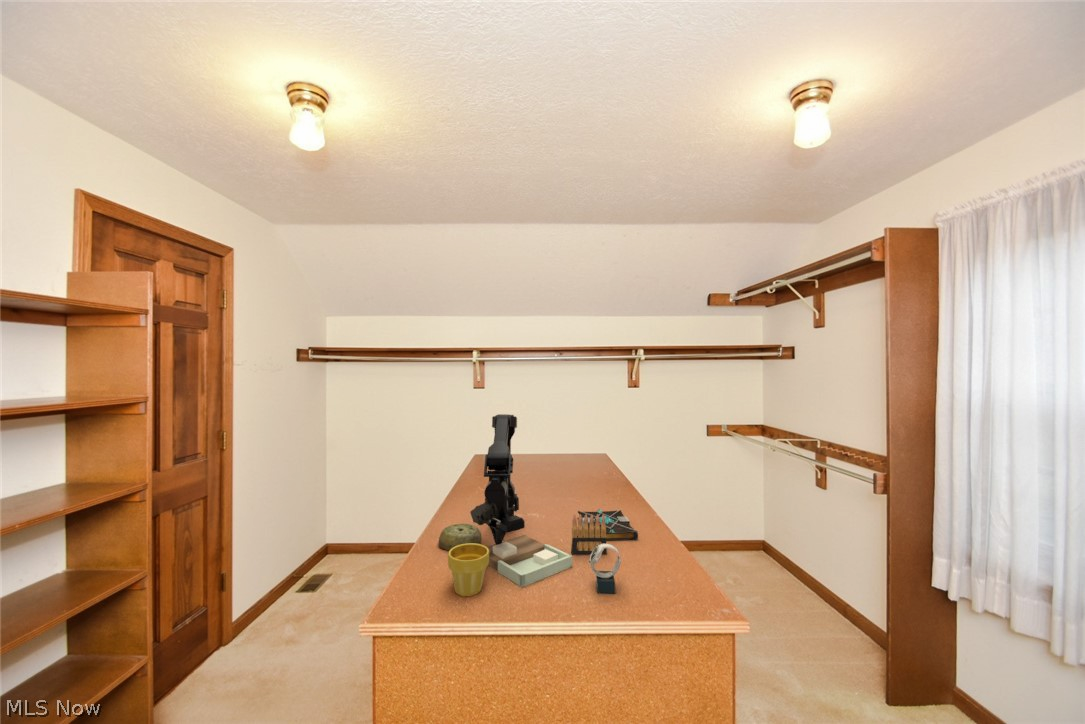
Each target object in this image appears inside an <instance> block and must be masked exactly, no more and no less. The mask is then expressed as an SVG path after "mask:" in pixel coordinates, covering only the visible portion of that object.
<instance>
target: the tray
mask: <svg viewBox="0 0 1085 724" xmlns="http://www.w3.org/2000/svg"><path fill="white" fill-rule="evenodd" d="M545 549H547V550H549V551H551V552H554V553H556V554H558V560H555V561H553V562H550V563H548V564H545V565H541V564H538V563H536V562H534V557H532V558H529V559H526V560H523V561H521V562H518V563H515V564H512V565H508V564H506V563H505V562H503V561H501V560H500V561H498V572H497V573H499V574H500V575H502V576H503V577H505V578H506V579H508V580H510V581H511V582H513V583H514V584H516V585H517V586H519V587H520V588H524V587H527V586H529V585H531V584H534V583H536V582H538V581H541V580H543V579H546V578H548V577H551V576H553V575H556V574H557V573H561V572H563V571H565V570H567V569H570V568H572V567H573V555H572V554H569V553H567V552H565V551H562V550H560V549H559V548H556V547H554V546H552V545H550V544H548V543H546V544H545V545H544V550H545Z"/></svg>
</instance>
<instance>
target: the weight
mask: <svg viewBox="0 0 1085 724" xmlns="http://www.w3.org/2000/svg"><path fill="white" fill-rule="evenodd" d="M482 537H483V535H482V532H481V530H480V529H479V528H478V527H477V526H475V525H474V524H470V523H457V524H452V525H449V526H446V527H444V529H443V530H441V533H440V534H439V538H438V546H439V547H440V548H441V549H442V550H446V551H448V552H449V551H450V550H451V549H452V548H453V547H455V546H458V545H461V544H468V543H476V544H481V542H482Z"/></svg>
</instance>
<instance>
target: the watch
mask: <svg viewBox="0 0 1085 724" xmlns="http://www.w3.org/2000/svg"><path fill="white" fill-rule="evenodd" d="M604 548H607V550H608V549H609V550H612V551H613V552H615V553H616V554H617V558H616V560H615V563H614V565H613V567H612V568H611V570H597V569H596V568H595V565H596V564H597V563H599V561H600V560H601V556H603V555H602V551H603V550H604ZM588 562H589V564H590V568H591V571H592V572H593V574H594V575H595V584H596V593H597V594H599V595H600V594H601V595H602V594H603V595H616V584H615V583H616V582H615V581H616V580H615V577H614V576H615V575H616V574H617V572H618V571H619V569H620V566H621V564H622V561H621V555H620V553H619V550H618V549H617V547H616V546H614V545H612V544H611V543H606V544H605V543H604V544H601V543H600V545H597V546H596V547H595V546H594V549H593V551H592V553H591V555H589V559H588Z"/></svg>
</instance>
